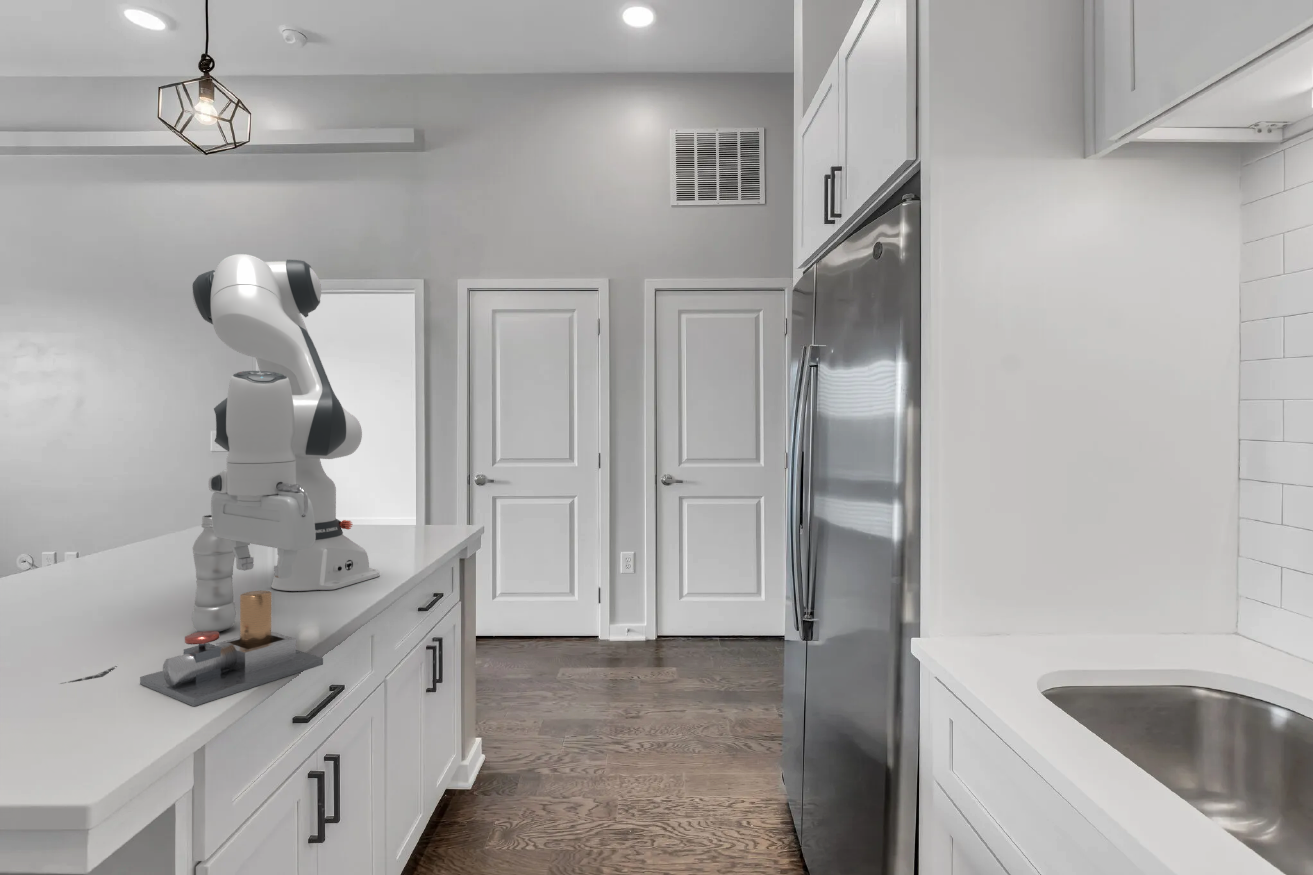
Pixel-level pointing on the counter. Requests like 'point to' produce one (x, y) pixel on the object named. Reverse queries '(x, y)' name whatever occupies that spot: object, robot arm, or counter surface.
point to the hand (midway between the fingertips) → (263, 573)
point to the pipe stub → (255, 619)
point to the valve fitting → (226, 667)
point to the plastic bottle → (213, 581)
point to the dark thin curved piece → (93, 675)
